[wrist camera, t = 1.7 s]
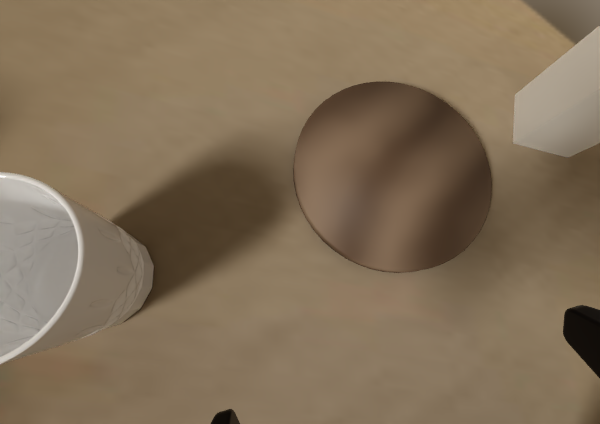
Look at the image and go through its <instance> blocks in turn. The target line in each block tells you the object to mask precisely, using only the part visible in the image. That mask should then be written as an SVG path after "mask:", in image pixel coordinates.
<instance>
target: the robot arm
mask: <svg viewBox="0 0 600 424" xmlns="http://www.w3.org/2000/svg"><path fill="white" fill-rule="evenodd" d="M563 335H564V337H565V339H566V341H567V342H568V343H569V345H570V346H571V347H572V348H573V349H574V350H575V351H576V352H577V353H578V355H579V356H580V357H581V358H582V359H583V360H584V361H585V362H586V364H587V365H588V366H589V367H590V368H591V369H592V370H593V371H594V372H595V374H596V375H597V376H598V377H599V378H600V310H598V309H595V308H592V307H588V306H584V305H580V306H576V307H572V308H569V309H567V310H566V311H565V315H564V326H563ZM211 424H240V423H239V421H238V418H237V416H236V414H235V412H234V411H233V410H232V409H228V410H225V411H222V412H219V413H217V414H216V415H215V417H214V418H213V420H212V422H211Z"/></svg>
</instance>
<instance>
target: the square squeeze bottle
mask: <svg viewBox="0 0 600 424" xmlns="http://www.w3.org/2000/svg"><path fill="white" fill-rule="evenodd" d="M513 143H514V144H517V145H521V146H525V147H529V148H533V149H536V150H540V151H544V152H548V153H552V154H555V155H559V156H563V157H567V158H569V157H571V156H573V155H575V154H577V153H579V152H582V151H584V150H586V149H588V148H590V147H592V146H595V145H597V144H599V143H600V26H598V27H597V28H596V29H595V30H593V31H592V32H591V33H590V34H589V35H587V36H586V37H585V38H584V39H583V40H581V41H580V42H579V43H578V44H576V45H575V46H574V47H573V48H571V49H570V50H569V51H568V52H566V53H565V54H564V55H563V56H562V57H560V58H559V59H558V60H557V61H555V62H554V63H553V64H552V65H551V66H549V67H548V68H547V69H546V70H544V71H543V72H542V73H541V74H540V75H538V76H537V77H536V78H535V79H533V80H532V81H531V82H530V83H529V84H527V85H526V86H525V87H524V88H522V89H521V90H520V91H519V92H518V93H516V94H515V108H514V128H513Z"/></svg>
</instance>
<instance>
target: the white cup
mask: <svg viewBox="0 0 600 424" xmlns="http://www.w3.org/2000/svg"><path fill="white" fill-rule="evenodd" d="M153 271H154V265H153V263H152V260H151V258H150V256H149V253H148V251H147V248H146V247H145V246H144V245H143V244H141V243H140V242H139V241H138V240H136V239H135V238H134V237H133V236H131V235H130V234H128V233H127V232H125V231H124V230H123V229H122V228H120V227H119V226H117V225H115V224H114V223H112V222H111V221H109V220H108V219H106V218H104V217H103V216H101V215H99V214H98V213H96V212H94V211H92V210H91V209H89V208H87V207H85V206H84V205H82V204H80V203H78V202H76V201H75V200H73V199H71V198H69V197H68V196H66V195H64V194H63V193H61V192H59V191H57V190H56V189H54V188H52V187H51V186H49V185H47V184H45V183H43V182H41V181H39V180H37V179H34V178H31V177H28V176H25V175H20V174H15V173H7V172H0V365H1V364H4V363H8V362H11V361H14V360H17V359H20V358H23V357H26V356H30V355H33V354H36V353H39V352H42V351H46V350H49V349H52V348H56V347H59V346H62V345H65V344H68V343H70V342H73V341H76V340H79V339H82V338H85V337H87V336H90V335H93V334H95V333H97V332H99V331H101V330H103V329H105V328H109V327H112V326H116V325H119V324H121V323H123V322H124V321H125V320H127V319H128V318H129V317H130V316H132V315H133V314H134V313H135V312H137V311H138V310H139V309H140V308H141V307H142V305H143V303H144V302H145V300H146V298H147V296H148V294H149V293H150V291H151V289H152V284H153Z"/></svg>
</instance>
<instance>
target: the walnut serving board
mask: <svg viewBox="0 0 600 424" xmlns="http://www.w3.org/2000/svg"><path fill="white" fill-rule="evenodd" d="M293 174H294V185H295V190H296V195H297V198H298V201H299V204H300V207H301V209H302V211H303V213H304V215H305V217H306V219H307V221H308V222H309V224H310V225H311V227H312V228H313V230H314V231H315V232H316V233H317V234H318V236H319V237H320V238H321V239H322V240H323V241H324V242H325V243H326V244H327V245H328V246H330V247H331V248H332V249H333V250H334V251H336V252H337V253H339V254H340V255H342V256H343V257H344V258H346V259H348V260H350V261H352V262H354V263H356V264H358V265H361V266H364V267H367V268H370V269H374V270H378V271H383V272H395V273H400V272H413V271H419V270H423V269H428V268H432V267H435V266H438V265H440V264H443V263H445V262H447V261H449V260H450V259H452V258H454V257H456V256H457V255H458V254H460V253H461V252H462V251H463V250H465V249H466V248H467V247H468V246H469V245H470V243H471V242H472V241H473V240H474V239H475V237H476V236H477V235H478V233H479V232H480V230H481V228H482V226H483V224H484V222H485V220H486V217H487V214H488V211H489V207H490V201H491V191H492V182H491V173H490V168H489V164H488V160H487V157H486V154H485V152H484V149H483V147H482V145H481V143H480V141H479V139H478V137H477V136H476V134H475V133H474V131H473V130H472V128H471V127H470V126H469V124H468V123H467V122H466V121H465V120H464V118H463V117H462V116H461V115H459V114H458V113H457V112H456V111H455V110H454V109H453V108H452V107H450V106H449V105H448V104H447V103H445V102H444V101H442V100H441V99H439V98H437V97H436V96H434V95H432V94H430V93H428V92H426V91H424V90H421V89H419V88H416V87H413V86H409V85H405V84H401V83H394V82H370V83H363V84H359V85H355V86H352V87H349V88H346V89H344V90H342V91H340V92H338V93H336V94H334V95H332V96H331V97H330V98H328V99H327V100H325V101H324V102H323V103H322V104H321V105H320V106H319V107H318V108H317V109H316V110H315V111H314V112H313V113H312V115H311V116H310V117H309V119H308V120H307V122H306V124H305V126H304V127H303V129H302V132H301V134H300V137H299V139H298V143H297V147H296V152H295V157H294V168H293Z"/></svg>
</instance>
